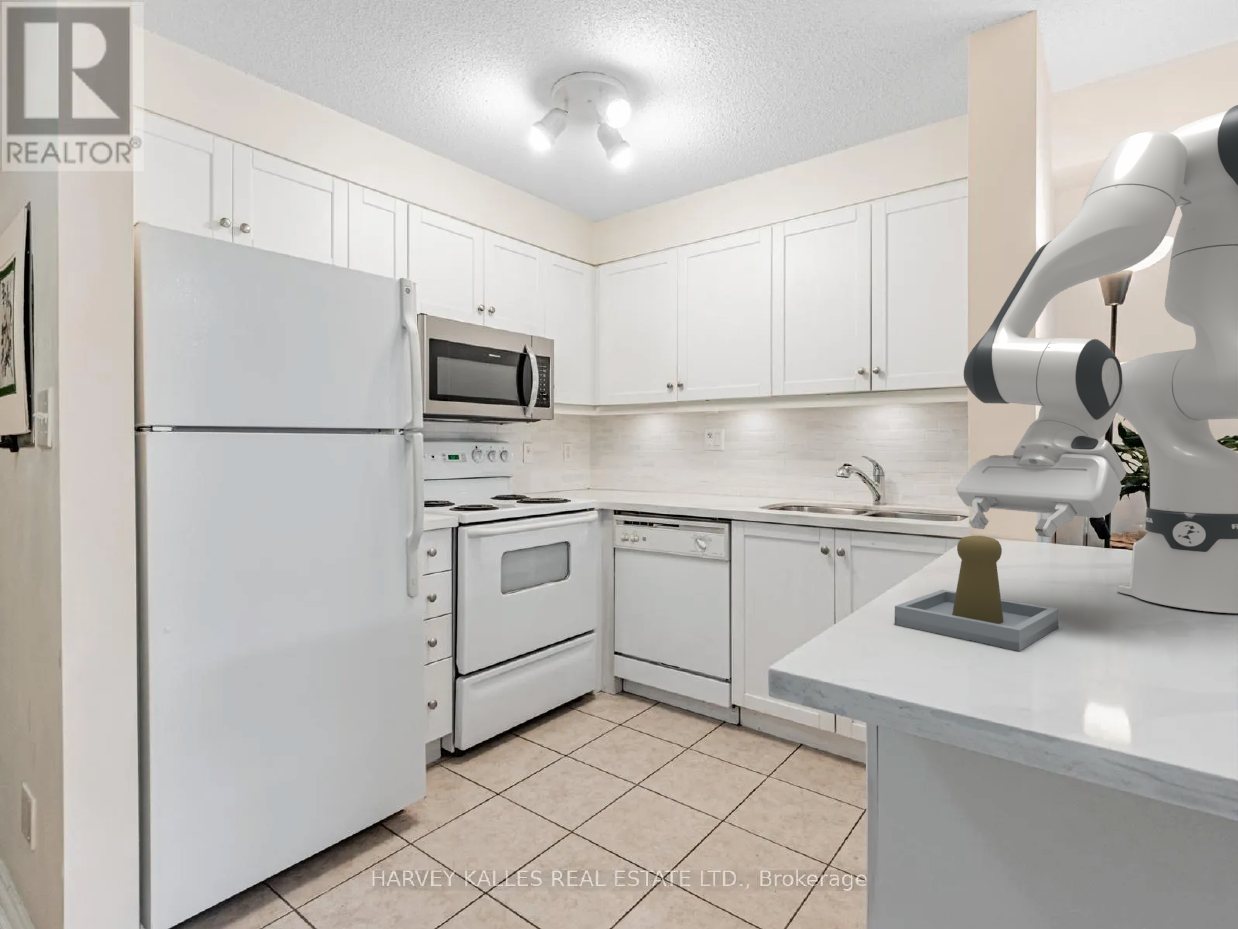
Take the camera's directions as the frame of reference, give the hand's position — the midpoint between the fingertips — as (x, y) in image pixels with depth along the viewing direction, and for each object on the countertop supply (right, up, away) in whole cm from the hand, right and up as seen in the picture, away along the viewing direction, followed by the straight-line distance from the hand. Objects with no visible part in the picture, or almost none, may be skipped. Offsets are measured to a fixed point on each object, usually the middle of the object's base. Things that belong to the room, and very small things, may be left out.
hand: (1007, 529), depth 89 cm
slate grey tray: (-6, -13, -2) cm, 14 cm away
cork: (-5, -12, -2) cm, 13 cm away
